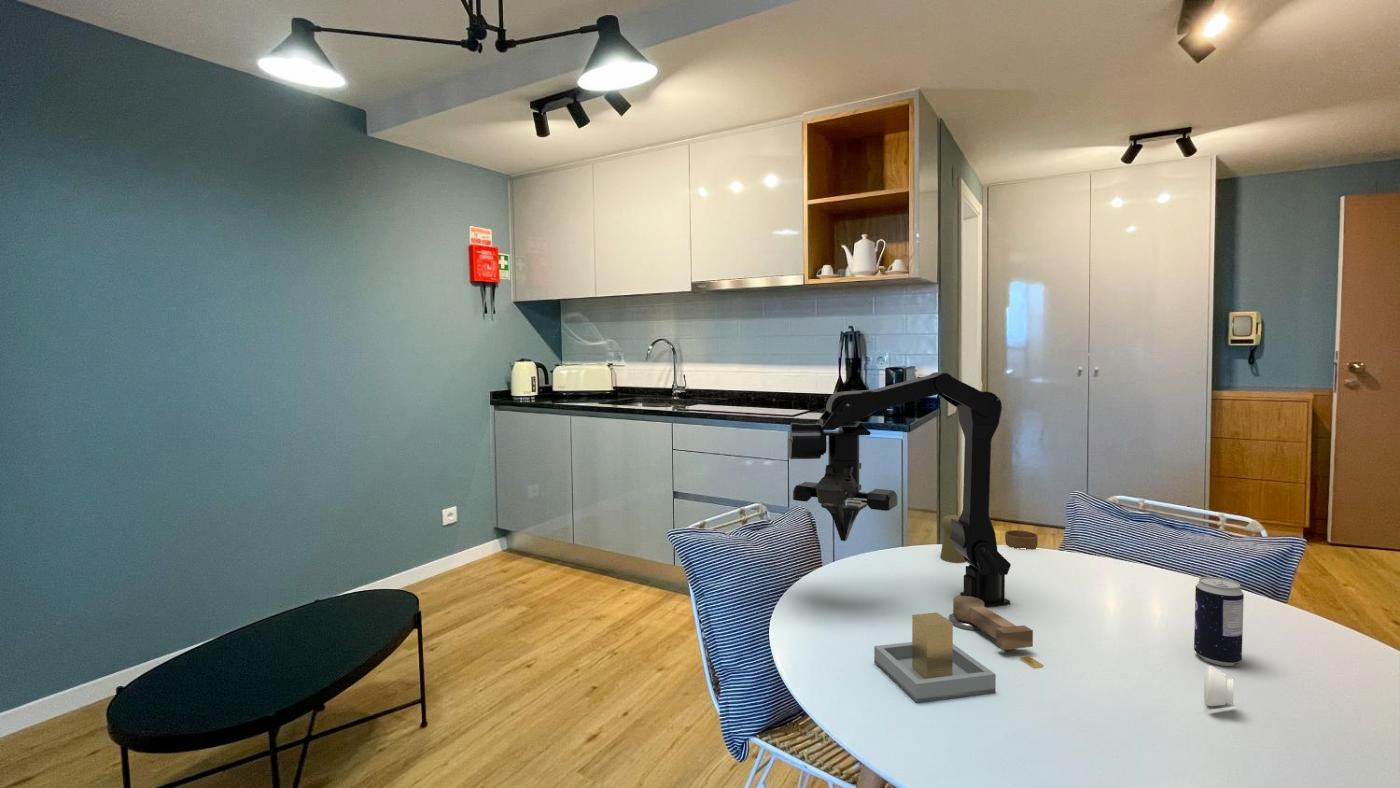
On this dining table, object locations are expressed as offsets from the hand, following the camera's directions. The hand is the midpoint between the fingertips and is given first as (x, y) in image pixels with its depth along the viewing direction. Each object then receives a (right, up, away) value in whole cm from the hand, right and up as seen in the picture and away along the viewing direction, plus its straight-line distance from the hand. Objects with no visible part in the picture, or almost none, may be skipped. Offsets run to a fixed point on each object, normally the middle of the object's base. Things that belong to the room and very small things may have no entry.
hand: (843, 540), depth 123 cm
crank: (+21, -11, -15) cm, 28 cm away
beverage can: (+51, -13, -24) cm, 58 cm away
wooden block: (+6, -13, -29) cm, 32 cm away
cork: (+30, -11, +23) cm, 40 cm away
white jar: (+41, -14, -37) cm, 57 cm away
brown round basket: (+50, -10, +36) cm, 62 cm away
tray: (+6, -13, -29) cm, 32 cm away
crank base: (+21, -13, -16) cm, 30 cm away
